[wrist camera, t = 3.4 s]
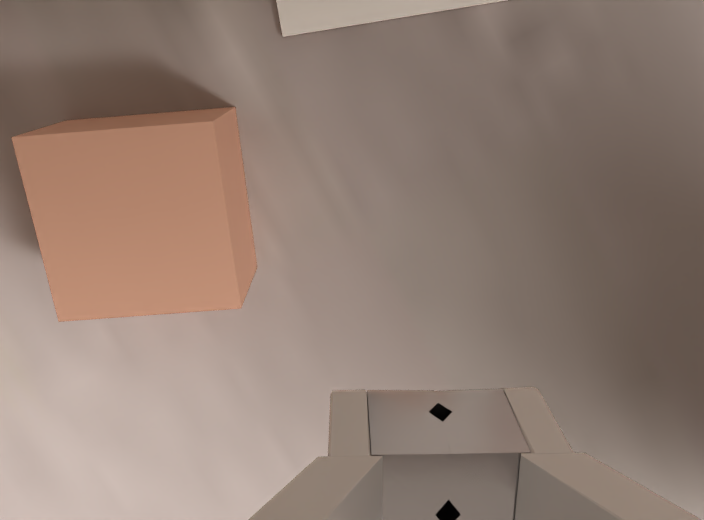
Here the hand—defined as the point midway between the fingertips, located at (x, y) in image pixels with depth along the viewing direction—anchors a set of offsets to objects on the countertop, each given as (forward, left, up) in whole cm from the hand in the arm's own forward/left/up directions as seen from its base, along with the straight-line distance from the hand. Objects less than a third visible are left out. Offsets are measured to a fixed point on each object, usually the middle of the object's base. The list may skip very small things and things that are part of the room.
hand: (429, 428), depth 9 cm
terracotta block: (+8, 0, -15) cm, 17 cm away
